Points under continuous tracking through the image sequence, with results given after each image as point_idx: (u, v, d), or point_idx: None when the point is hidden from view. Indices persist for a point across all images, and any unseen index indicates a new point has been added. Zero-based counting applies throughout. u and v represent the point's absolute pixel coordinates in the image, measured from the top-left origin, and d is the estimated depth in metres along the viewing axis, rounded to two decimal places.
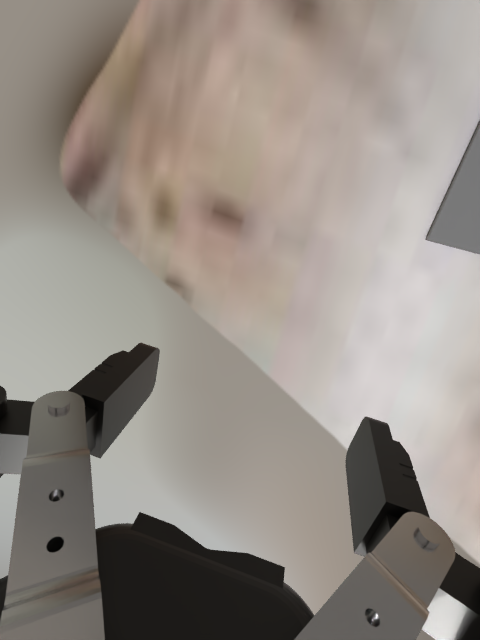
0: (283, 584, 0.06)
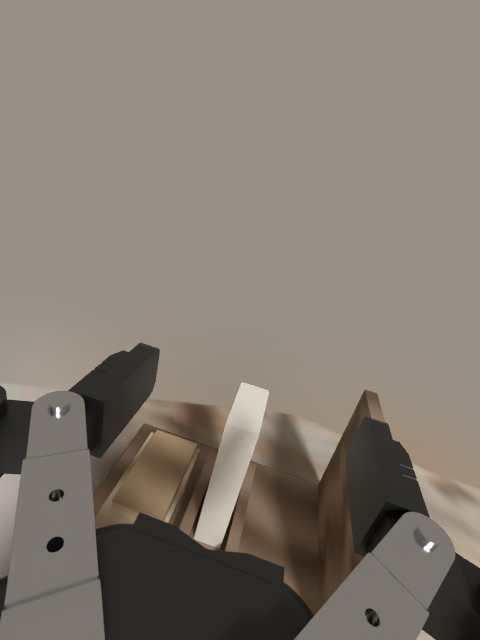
0: (283, 584, 0.06)
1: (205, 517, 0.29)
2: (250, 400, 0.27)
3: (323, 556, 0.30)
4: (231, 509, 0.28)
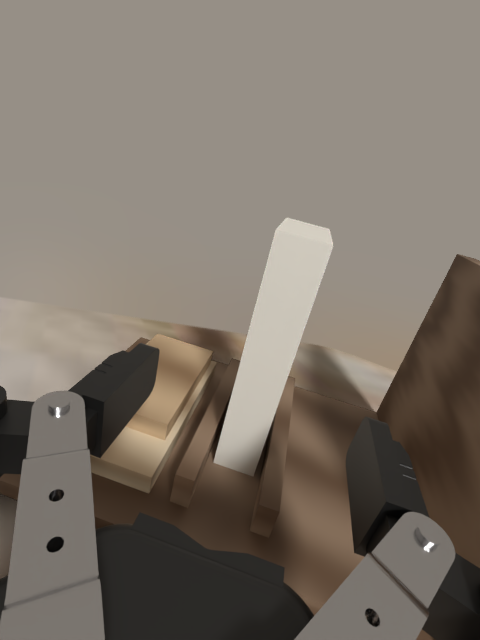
0: (283, 584, 0.06)
1: (232, 423, 0.19)
2: (305, 227, 0.17)
3: None
4: (275, 403, 0.18)
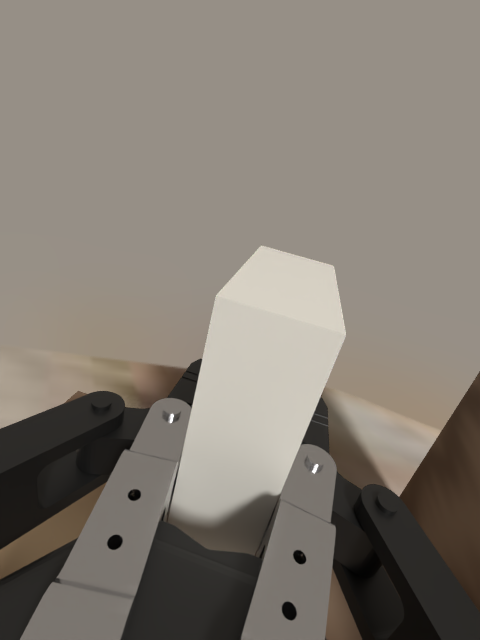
0: None
1: None
2: (290, 270, 0.09)
3: None
4: None
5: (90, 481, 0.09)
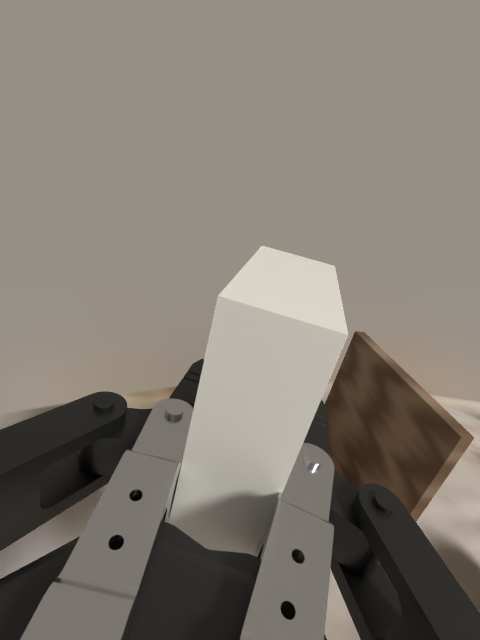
0: None
1: None
2: (292, 270, 0.09)
3: (353, 473, 0.36)
4: None
5: (92, 482, 0.09)
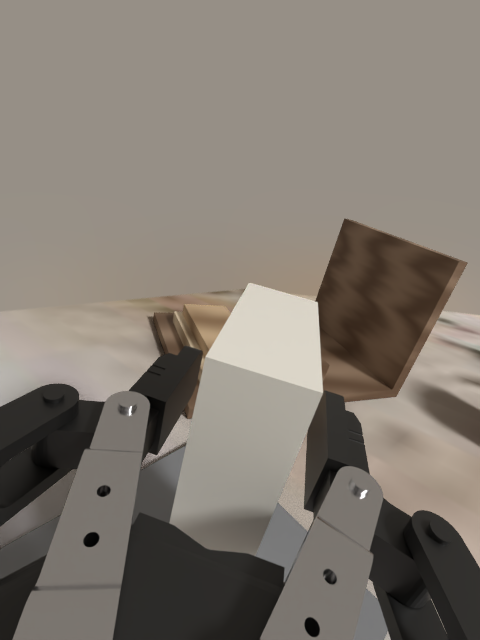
0: (283, 584, 0.06)
1: None
2: (276, 313, 0.10)
3: (354, 342, 0.40)
4: None
5: (50, 474, 0.09)
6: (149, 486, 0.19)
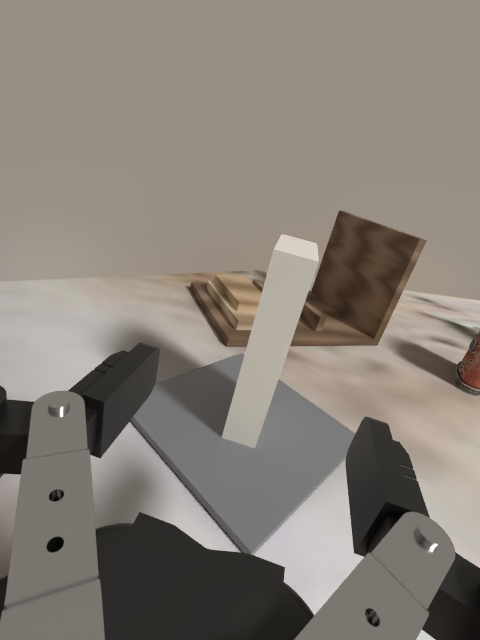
0: (283, 584, 0.06)
1: (237, 403, 0.23)
2: (297, 244, 0.21)
3: (346, 306, 0.51)
4: (273, 386, 0.22)
5: None
6: (210, 374, 0.31)
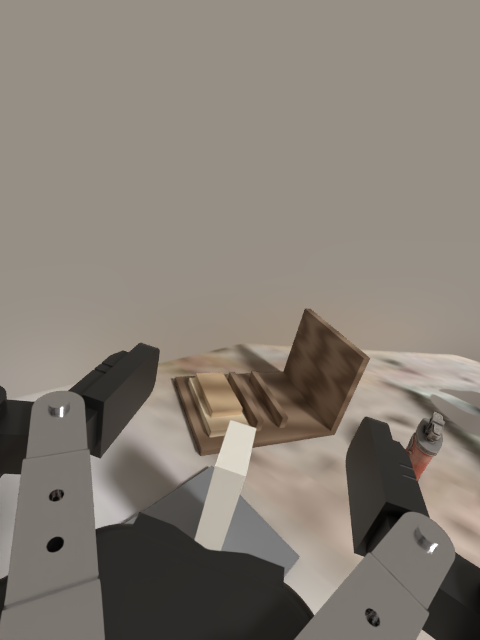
0: (283, 584, 0.06)
1: None
2: (238, 439, 0.29)
3: (310, 395, 0.59)
4: (221, 542, 0.29)
5: None
6: (183, 496, 0.38)
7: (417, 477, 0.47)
